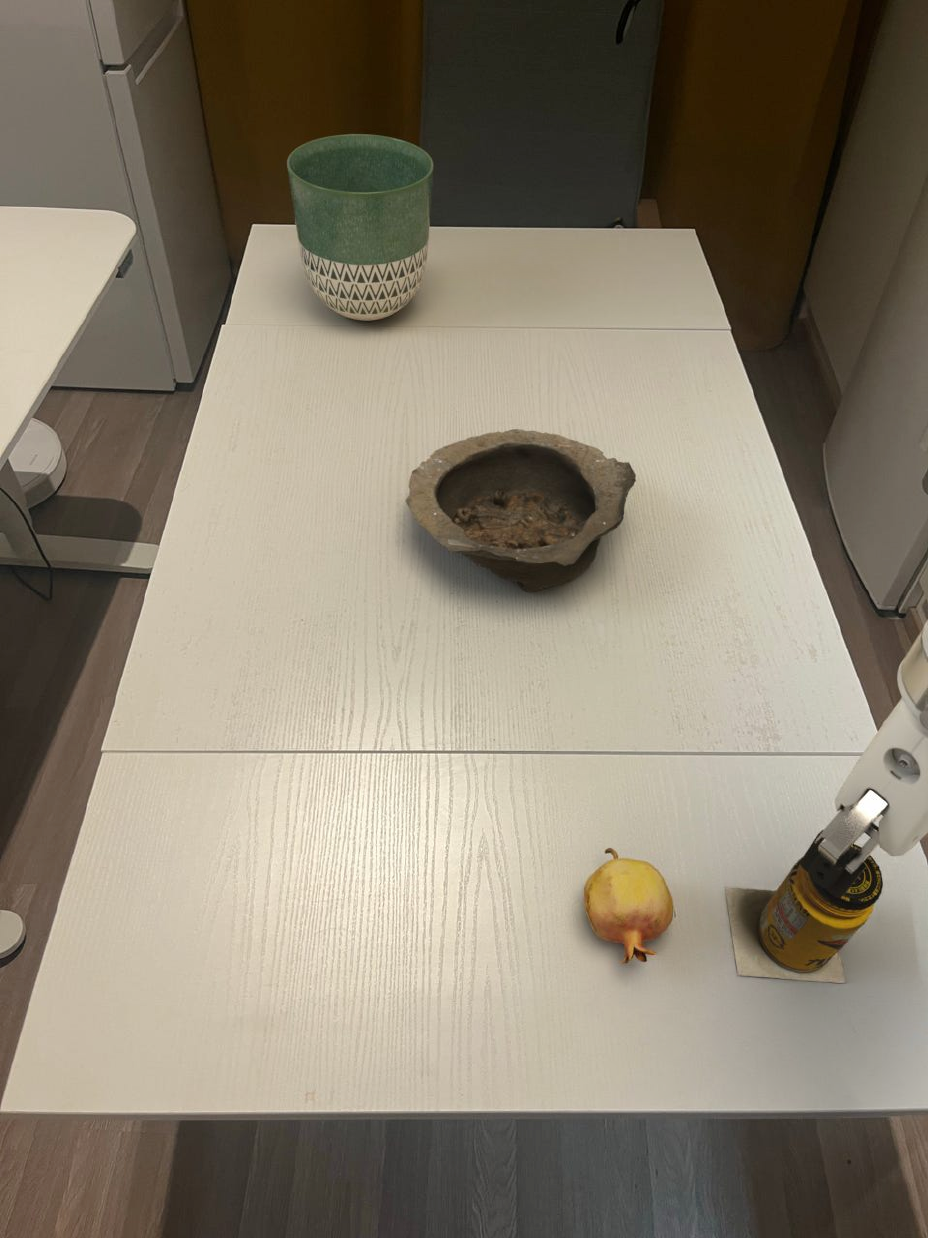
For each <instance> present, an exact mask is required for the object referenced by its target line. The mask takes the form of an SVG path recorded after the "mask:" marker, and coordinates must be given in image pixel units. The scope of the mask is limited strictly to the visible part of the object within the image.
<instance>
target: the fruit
mask: <svg viewBox="0 0 928 1238" xmlns="http://www.w3.org/2000/svg"><path fill="white" fill-rule="evenodd" d="M607 854H611V855H612V857H613V858H612V859H611V860H609V861H606V862H605V863H603V864H602V865H600V867H598V868H597V869H596V870H595V871H594V872H593V873H592V874H591V875H590V876H589V877H588V878H587V880H586V882H585V884H584V887H583V904H584V909H585V913H586V916H587V918H588V921H589V924H590V926H591V929H592V931H593V932H594V933H595V935H596V936H597V937H598V938H600V939H601V940H603V941H606V942H607V941H608V942H611V943H616V944H623V946H624V958H623V959H622V960H621V961H620V964H621V965H623V964H625V965H626V964H629V962H631V961H632V959H633V958H634V956H635V958H636V959H637V960H638V961H640V962H642V963H646V962H648V956H655V955H657V952H656V951H653V950H650V949H648V948H645V947H644V945H643V944H644V943H643V942H648V941H651V940H654V939H655V938H657V937H659V936H660V935H662V934H663V933H664V932H666V931H667V929H668V928H669V926H670V925H671V923H672V921H673V917H674V900H673V896H672V893H671V892H670V890H669V887H668V885H667V882H666V879H665V878H664V876H663V875H662V874H661V872H660V871H659V870H658V869H657V868H656V867H655V866H654V865H652V864H651V863H650V862H648V861H644V860H639V859H632V858H625V857H623V858H622V857H619V855H618V852H617V851H616V850H615V849H614V848H611V847H608V848H606V849H605V850H604V855H607ZM647 955H648V956H647Z"/></svg>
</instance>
